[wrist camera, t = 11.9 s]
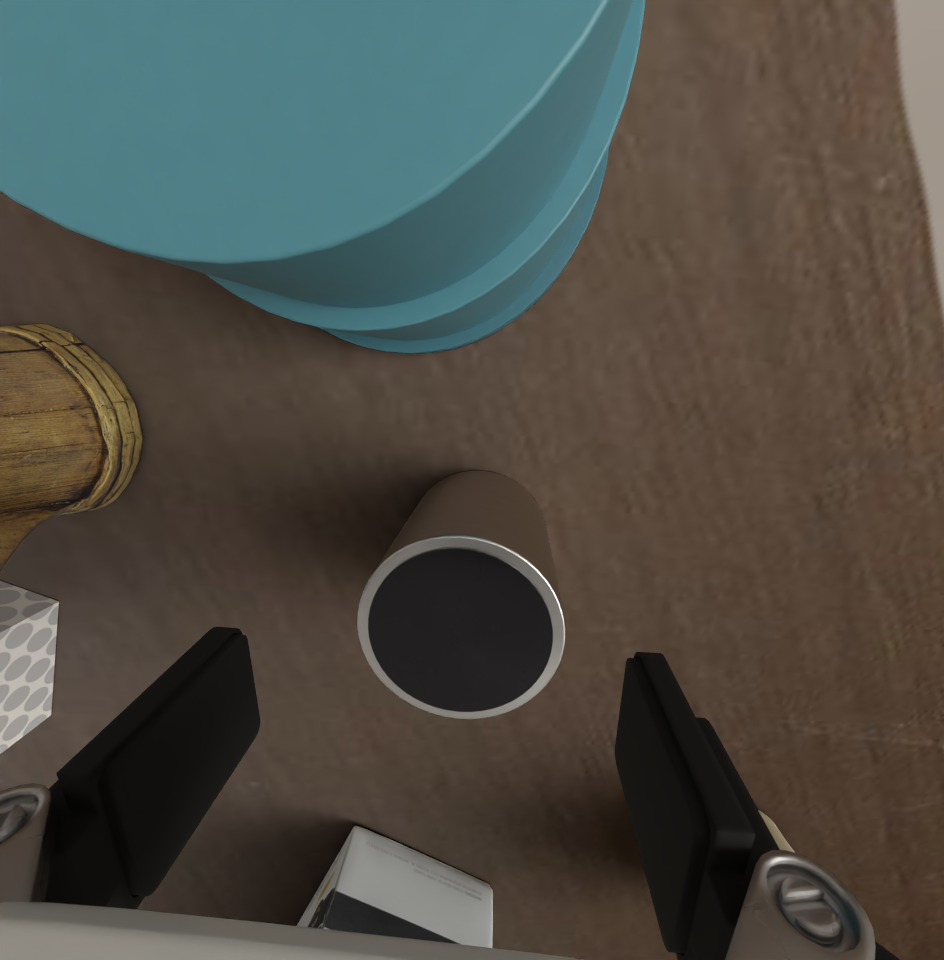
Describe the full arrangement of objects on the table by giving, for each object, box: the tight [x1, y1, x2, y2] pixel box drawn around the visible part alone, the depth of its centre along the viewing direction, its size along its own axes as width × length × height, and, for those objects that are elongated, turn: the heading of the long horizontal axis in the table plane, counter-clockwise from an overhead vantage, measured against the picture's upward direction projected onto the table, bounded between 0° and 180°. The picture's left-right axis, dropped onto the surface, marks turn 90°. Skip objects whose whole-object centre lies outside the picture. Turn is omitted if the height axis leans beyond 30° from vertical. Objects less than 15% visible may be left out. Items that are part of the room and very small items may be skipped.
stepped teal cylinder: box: [0, 0, 645, 354], centre depth 11 cm, size 15×15×13 cm
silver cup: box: [357, 471, 566, 719], centre depth 17 cm, size 7×7×8 cm
